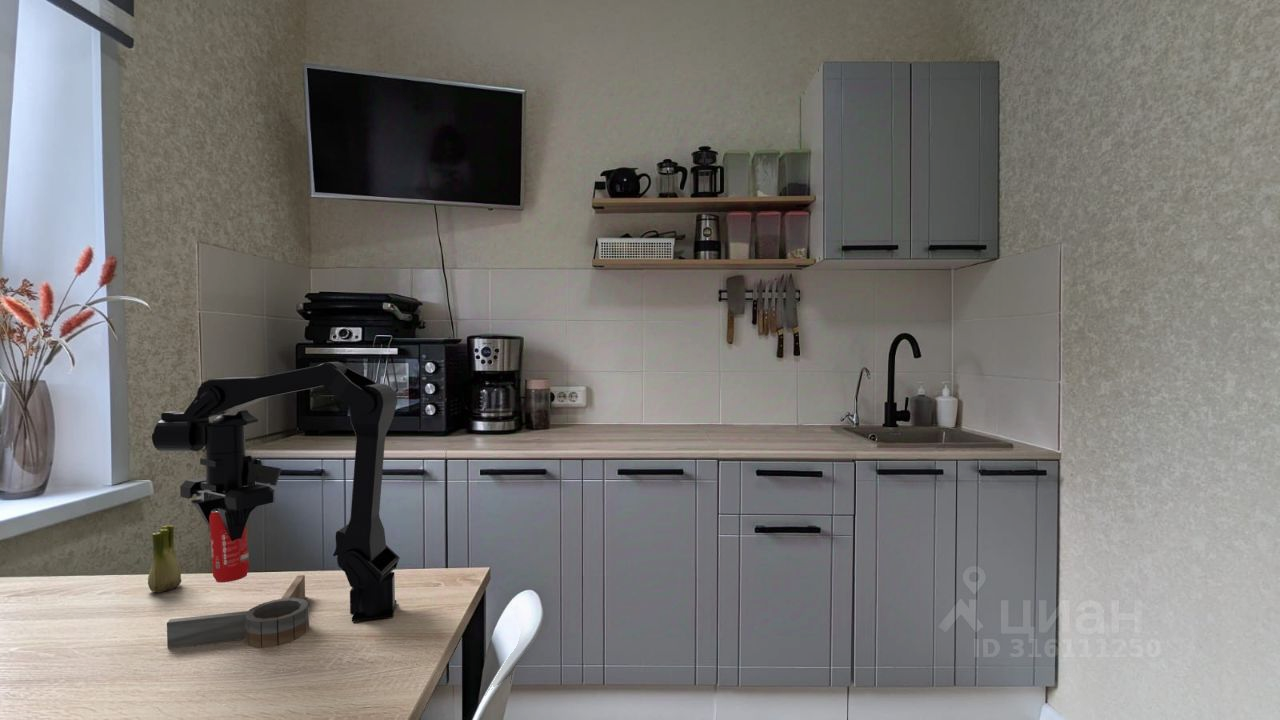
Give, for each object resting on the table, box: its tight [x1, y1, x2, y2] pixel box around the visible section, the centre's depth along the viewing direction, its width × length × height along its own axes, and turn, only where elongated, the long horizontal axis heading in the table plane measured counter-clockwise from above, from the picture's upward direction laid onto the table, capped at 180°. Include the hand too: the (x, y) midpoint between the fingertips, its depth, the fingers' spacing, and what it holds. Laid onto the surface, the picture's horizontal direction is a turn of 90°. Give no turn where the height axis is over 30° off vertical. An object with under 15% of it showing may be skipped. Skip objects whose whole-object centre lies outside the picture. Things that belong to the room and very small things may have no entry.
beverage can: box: [209, 508, 250, 584], centre depth 106 cm, size 5×5×12 cm
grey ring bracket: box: [166, 574, 310, 649], centre depth 104 cm, size 19×19×4 cm
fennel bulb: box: [147, 524, 182, 593], centre depth 118 cm, size 6×5×12 cm
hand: (228, 541), depth 107 cm, fingers closed on beverage can, 5 cm apart
